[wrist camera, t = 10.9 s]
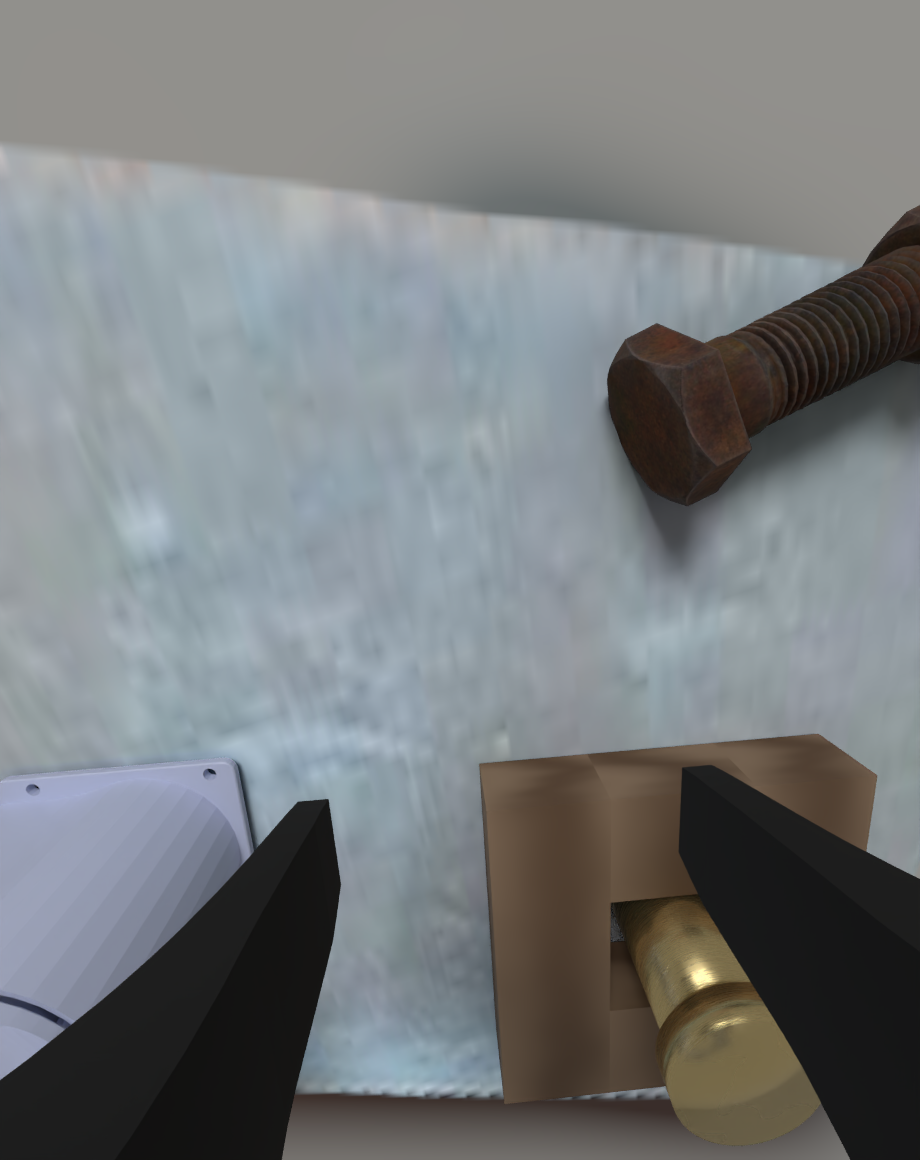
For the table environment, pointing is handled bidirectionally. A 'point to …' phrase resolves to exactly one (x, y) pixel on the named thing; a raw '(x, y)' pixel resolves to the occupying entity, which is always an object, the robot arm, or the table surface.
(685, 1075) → the brass pin
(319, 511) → the table surface
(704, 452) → the bolt
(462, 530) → the table surface
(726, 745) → the socket plate
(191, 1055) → the robot arm
